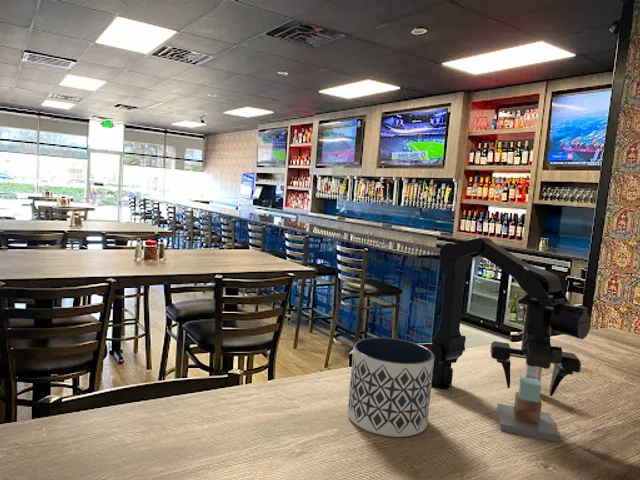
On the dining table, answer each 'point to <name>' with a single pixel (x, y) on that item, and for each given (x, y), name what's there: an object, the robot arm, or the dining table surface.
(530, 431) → the slate board
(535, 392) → the teal block
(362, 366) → the planter
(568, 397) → the dining table surface
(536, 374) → the sprinkles bottle
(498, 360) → the robot arm
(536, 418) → the walnut block
